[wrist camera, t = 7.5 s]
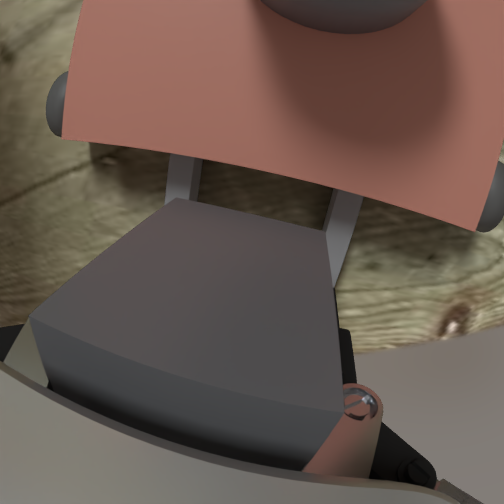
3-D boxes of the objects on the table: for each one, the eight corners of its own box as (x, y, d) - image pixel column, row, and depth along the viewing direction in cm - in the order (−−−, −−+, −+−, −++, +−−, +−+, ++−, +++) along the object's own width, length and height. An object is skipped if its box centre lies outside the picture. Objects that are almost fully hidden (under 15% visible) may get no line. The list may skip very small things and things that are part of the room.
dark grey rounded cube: (176, 197, 11) (28, 316, 4) (325, 231, 10) (344, 412, 4) (165, 334, 13) (89, 470, 7) (281, 365, 13) (257, 523, 6)
